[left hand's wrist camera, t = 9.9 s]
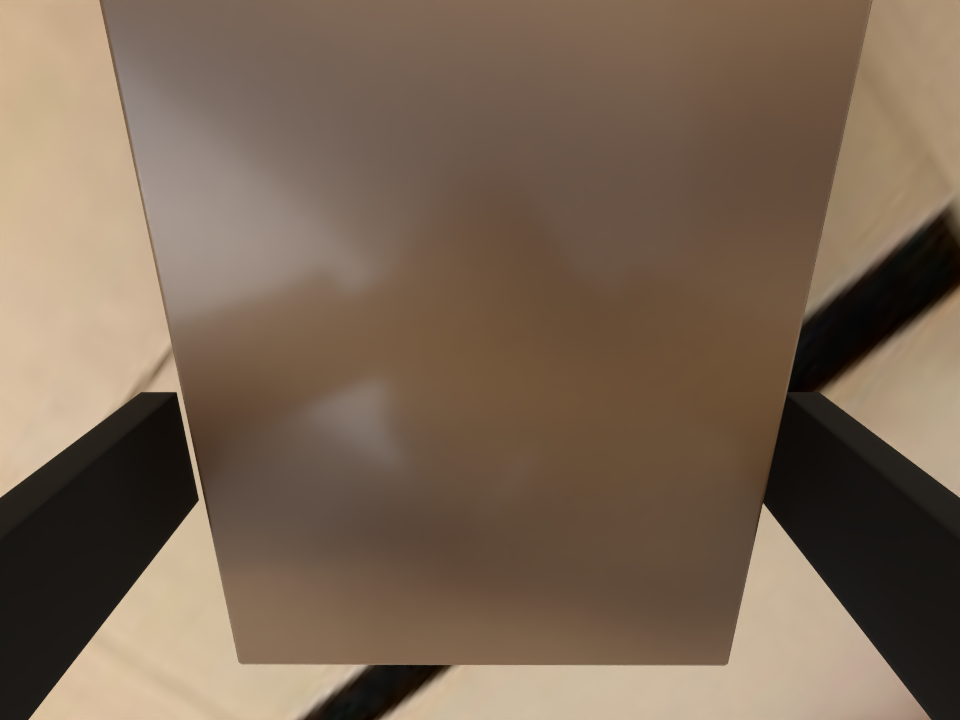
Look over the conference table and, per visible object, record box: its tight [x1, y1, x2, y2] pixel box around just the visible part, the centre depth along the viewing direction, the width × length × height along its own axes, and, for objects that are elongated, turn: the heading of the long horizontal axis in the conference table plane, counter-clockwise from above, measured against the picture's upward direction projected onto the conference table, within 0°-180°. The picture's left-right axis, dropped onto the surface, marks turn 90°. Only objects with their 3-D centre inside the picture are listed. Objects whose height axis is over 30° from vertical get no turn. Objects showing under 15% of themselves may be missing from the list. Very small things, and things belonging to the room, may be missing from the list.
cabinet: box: [100, 0, 872, 665], centre depth 12 cm, size 21×10×8 cm, turn 0°
